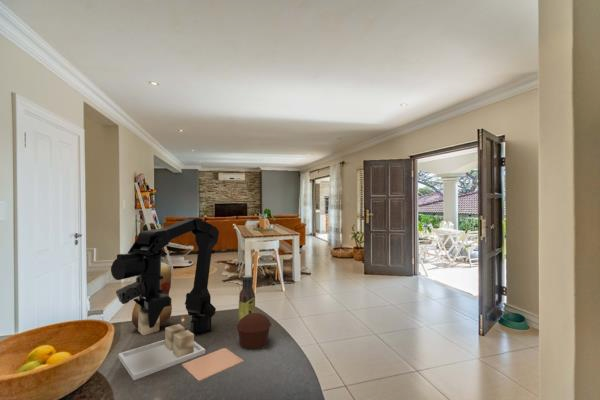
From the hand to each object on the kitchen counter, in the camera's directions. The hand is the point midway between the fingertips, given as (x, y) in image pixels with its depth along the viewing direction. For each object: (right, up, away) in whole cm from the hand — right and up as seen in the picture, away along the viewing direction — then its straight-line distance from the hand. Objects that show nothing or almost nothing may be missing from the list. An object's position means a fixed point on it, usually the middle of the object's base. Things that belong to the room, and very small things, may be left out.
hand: (148, 325), depth 84 cm
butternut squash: (-11, -12, +24) cm, 29 cm away
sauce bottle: (+25, -12, +24) cm, 37 cm away
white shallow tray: (+3, -11, +3) cm, 12 cm away
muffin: (+30, -12, +11) cm, 34 cm away
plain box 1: (+4, -11, +9) cm, 14 cm away
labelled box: (0, -2, 0) cm, 2 cm away
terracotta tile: (+20, -11, -2) cm, 23 cm away
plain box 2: (+9, -11, +4) cm, 14 cm away
